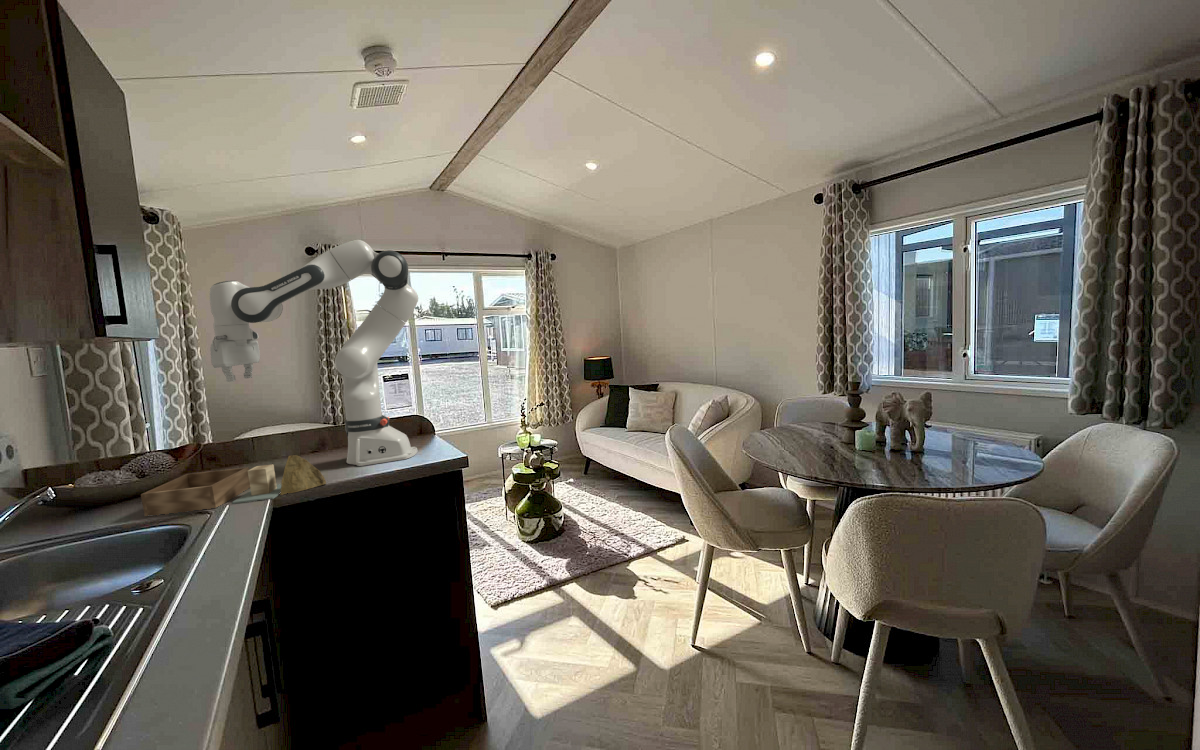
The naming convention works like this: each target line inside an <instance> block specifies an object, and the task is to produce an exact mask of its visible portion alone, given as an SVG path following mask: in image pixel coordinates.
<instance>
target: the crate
mask: <svg viewBox="0 0 1200 750" xmlns="http://www.w3.org/2000/svg"><path fill="white" fill-rule="evenodd" d="M248 470H250V468H249V466H247V467H239V468H238V467H237V468H228V469H221V470H220V469H219V470H211V471H204V472H203V471H202V472H193V473H186V474H183V475H180V476H179V477H177V478H174V479H172V480H169V481H167V482H165V483H163V484H161V485H158V486H156V487H154V488H152V489H150V490H147V491H145V492H143V493H141V494H140V498H141V499H140V500H141V503H142V509H143V513H144V514H143V515H144V517H145V516H148V515H157V516H160V515H159V514H165V515H170V514H169V513H174V514H179V513H178V512H182V513H188V512H187V511H190V512H194V511H193V510H199V511H203V510H202V509H207V510H212V509H211V508H215V509H217V508H216V507H218V506H219V507H221V506H223V505H225V503H227V501H228V502H229V501H231V500H233V499H234V498H236V497H238V496H239V495H241V494H243V493H244V492H245V490H246V491H247V490H249V489H250V482H249V476H248ZM248 488H249V489H248ZM243 491H244V492H243ZM240 493H241V494H240ZM237 495H238V496H237ZM232 498H233V499H232ZM222 504H223V505H222ZM220 505H221V506H220ZM219 507H218V508H219Z"/></svg>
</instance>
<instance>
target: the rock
mask: <svg viewBox="0 0 1200 750" xmlns="http://www.w3.org/2000/svg"><path fill="white" fill-rule="evenodd" d="M285 462H286V463H285V466H284V470H283V475H282V479H281V481H280V482H281V483H280V484H281V493H280V494H279V495H280V496H284V495H287V493H288V494H293V493H294V494H295V493H298V492H302V491H305V490H309V489H314V488H316V487H321V486H324V485H326V484H327V481H326V479H325V476H324V475H323V474H322V472H321V470H319V469H318V468H317V467H315V466H314V465H313V464H312V463H311V462H309V461H308V460H307V459H305V458H303V457H301V456H299V455H296V454H295V455H294V454H292V455H288V457H287V461H285Z"/></svg>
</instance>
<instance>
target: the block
mask: <svg viewBox="0 0 1200 750" xmlns="http://www.w3.org/2000/svg"><path fill="white" fill-rule="evenodd" d="M248 476H249V482H250V488H249V490H250V491H251V495H260V494H268V493H271V492H272V491H274V490H275V489H277V479H276V472H275V465H274V463H273V464H265V465H264V464H263V465H256V466H254V467H251V468H249V470H248Z"/></svg>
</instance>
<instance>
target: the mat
mask: <svg viewBox="0 0 1200 750" xmlns="http://www.w3.org/2000/svg"><path fill="white" fill-rule="evenodd" d="M276 484H277V483H276ZM280 492H281V483H278V484H277V489H275V490H274V491H272V492H271V493H268V494H260V495H251V490H249V491H248V492H246V493H244V494H243V495H241V496H240V497H238V498H237V499H235V500H233V501H231V505H236V504H243V503H244V502H245V503H251V502H252V501H253V502H258V501H257V500H262V501H265V500H264V499H270V500H274V499H275V498H277V497H278V496H279V495H280V494H279V493H280ZM278 494H279V495H278Z"/></svg>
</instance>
